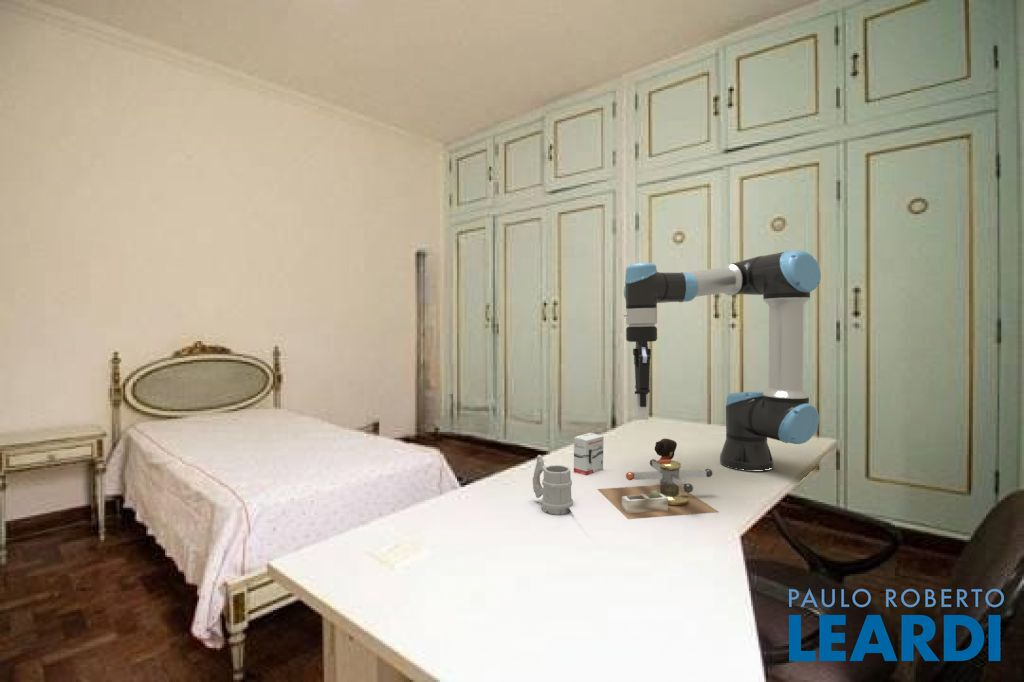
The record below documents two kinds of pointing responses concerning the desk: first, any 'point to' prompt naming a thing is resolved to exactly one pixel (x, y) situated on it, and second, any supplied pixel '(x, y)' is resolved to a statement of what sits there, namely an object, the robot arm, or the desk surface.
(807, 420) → the robot arm
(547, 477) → the mug
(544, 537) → the desk surface
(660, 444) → the figurine
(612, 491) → the stand
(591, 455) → the ink box
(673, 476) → the capstan
